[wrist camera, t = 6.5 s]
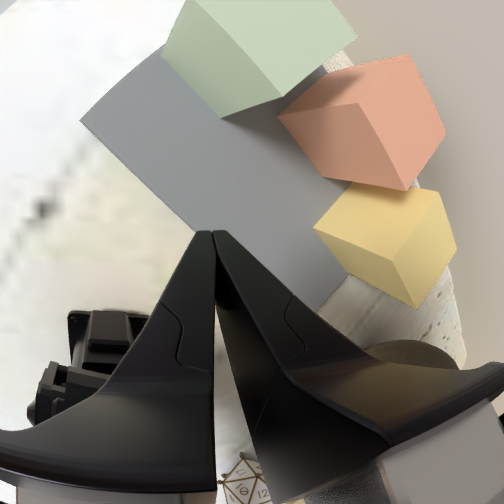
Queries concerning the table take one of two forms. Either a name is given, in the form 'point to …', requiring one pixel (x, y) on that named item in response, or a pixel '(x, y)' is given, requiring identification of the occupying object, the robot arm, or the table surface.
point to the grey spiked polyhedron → (245, 484)
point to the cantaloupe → (413, 354)
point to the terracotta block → (367, 123)
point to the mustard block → (390, 238)
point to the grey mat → (226, 171)
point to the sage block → (252, 47)
